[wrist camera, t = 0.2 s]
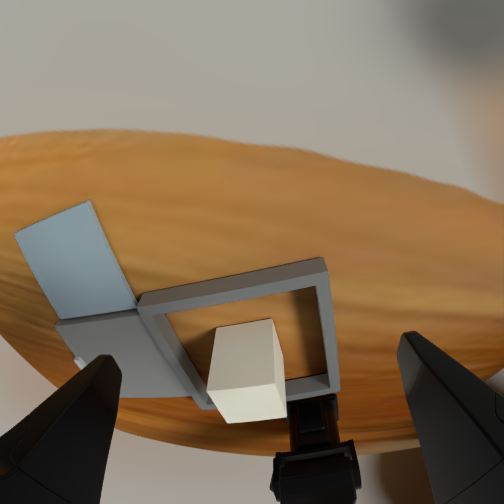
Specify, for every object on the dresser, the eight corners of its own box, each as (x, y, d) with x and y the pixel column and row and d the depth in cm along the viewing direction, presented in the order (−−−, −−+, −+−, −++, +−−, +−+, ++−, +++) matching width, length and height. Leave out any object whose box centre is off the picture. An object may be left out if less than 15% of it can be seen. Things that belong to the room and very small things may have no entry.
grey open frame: (337, 376, 29) (340, 391, 28) (117, 397, 33) (113, 409, 31) (322, 256, 23) (327, 270, 21) (50, 309, 26) (42, 321, 24)
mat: (138, 303, 25) (136, 308, 25) (63, 315, 26) (60, 319, 26) (89, 199, 21) (86, 202, 20) (17, 231, 22) (13, 234, 21)
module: (282, 355, 28) (287, 417, 22) (229, 364, 28) (224, 423, 22) (272, 318, 26) (274, 383, 19) (213, 328, 26) (202, 391, 20)
